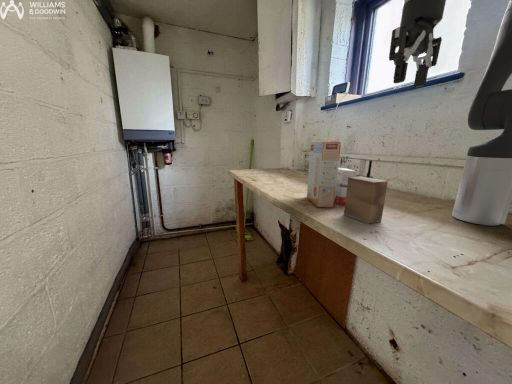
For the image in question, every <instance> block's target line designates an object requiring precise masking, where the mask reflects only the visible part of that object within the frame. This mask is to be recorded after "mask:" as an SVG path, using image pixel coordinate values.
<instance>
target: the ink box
mask: <svg viewBox="0 0 512 384" xmlns="http://www.w3.org/2000/svg"><path fill="white" fill-rule="evenodd" d="M348 177H357V170H353V169H350V168H347V167H346V168H343V167H338V173H337V182H336V191H335V200H334V203H336V204H338V205H345V201H346V193H347V184H348Z"/></svg>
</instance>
